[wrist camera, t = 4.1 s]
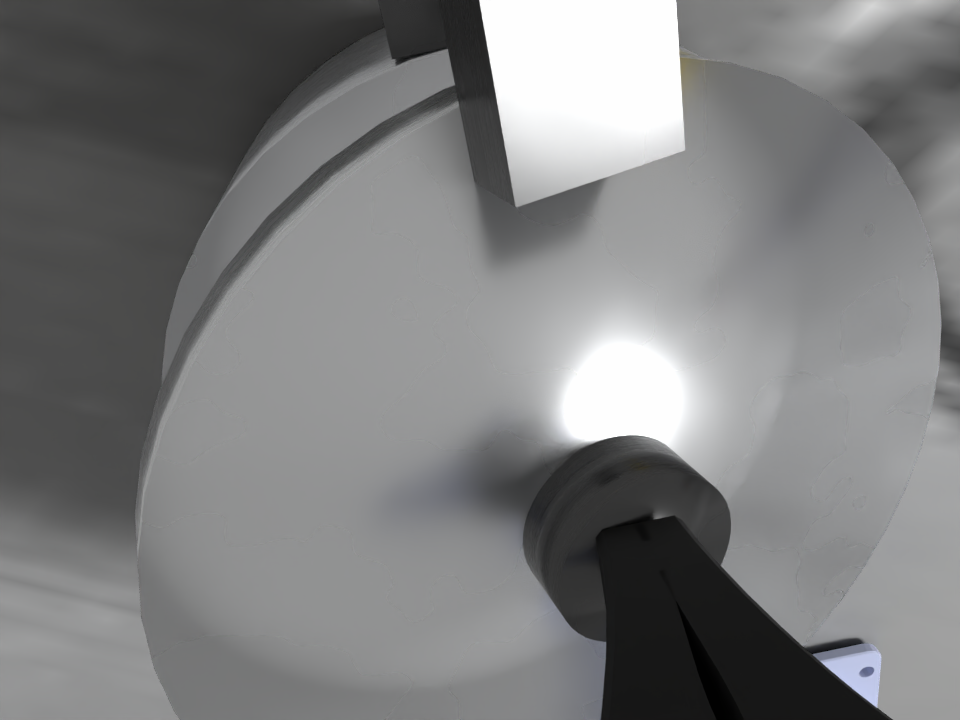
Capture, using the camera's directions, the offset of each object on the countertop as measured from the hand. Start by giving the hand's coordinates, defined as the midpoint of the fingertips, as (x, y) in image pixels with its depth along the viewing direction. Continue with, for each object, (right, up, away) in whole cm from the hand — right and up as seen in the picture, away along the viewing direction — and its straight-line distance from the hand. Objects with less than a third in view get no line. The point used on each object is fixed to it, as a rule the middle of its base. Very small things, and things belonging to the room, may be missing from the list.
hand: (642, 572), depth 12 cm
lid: (-1, +4, 0) cm, 4 cm away
